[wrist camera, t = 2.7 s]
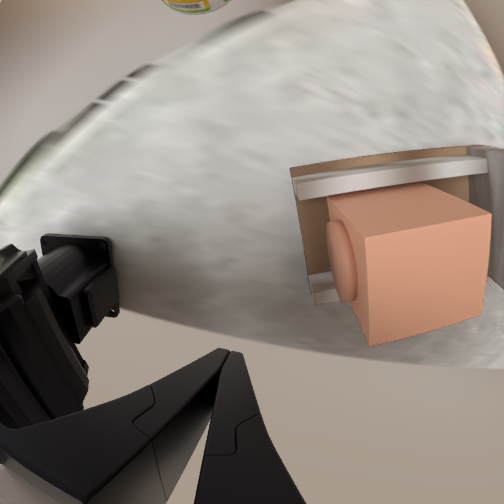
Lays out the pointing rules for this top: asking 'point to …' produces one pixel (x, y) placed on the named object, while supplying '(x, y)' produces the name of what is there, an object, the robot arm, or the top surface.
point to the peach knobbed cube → (408, 258)
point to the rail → (392, 173)
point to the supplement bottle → (195, 5)
